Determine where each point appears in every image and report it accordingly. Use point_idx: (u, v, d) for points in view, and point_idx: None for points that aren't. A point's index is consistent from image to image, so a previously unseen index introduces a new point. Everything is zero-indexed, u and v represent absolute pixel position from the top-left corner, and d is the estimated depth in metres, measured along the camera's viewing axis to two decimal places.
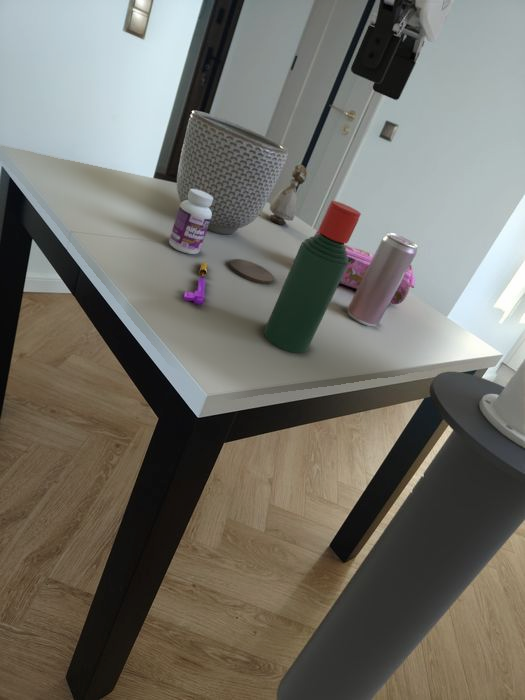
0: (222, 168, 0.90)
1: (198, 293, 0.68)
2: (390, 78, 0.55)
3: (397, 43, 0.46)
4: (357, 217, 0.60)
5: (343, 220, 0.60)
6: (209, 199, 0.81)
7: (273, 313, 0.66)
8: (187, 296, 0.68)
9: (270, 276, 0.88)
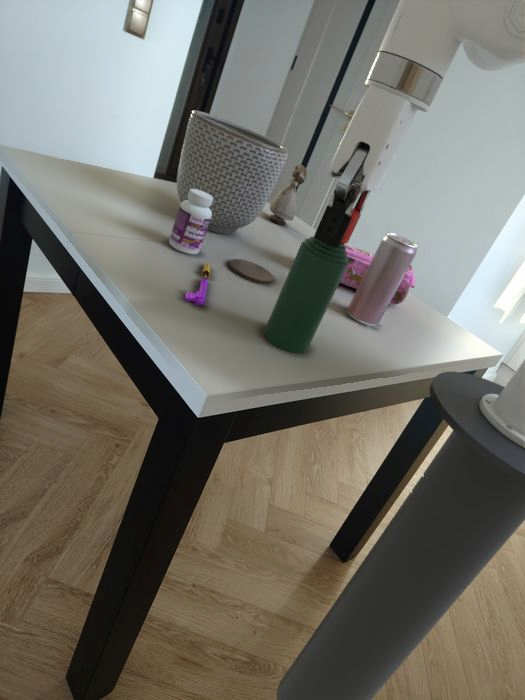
0: (222, 168, 0.90)
1: (199, 293, 0.69)
2: None
3: None
4: (357, 217, 0.60)
5: None
6: (209, 199, 0.81)
7: (273, 313, 0.66)
8: (188, 296, 0.68)
9: (270, 276, 0.88)
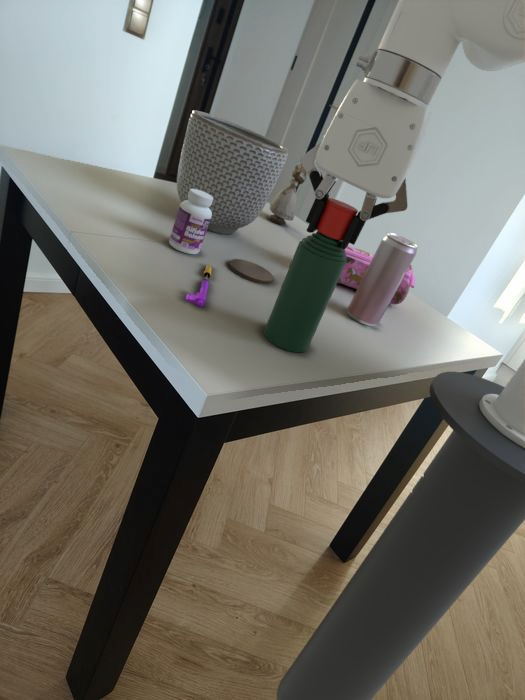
0: (222, 168, 0.90)
1: (200, 295, 0.69)
2: None
3: (318, 204, 0.60)
4: None
5: None
6: (209, 199, 0.81)
7: (272, 313, 0.66)
8: (188, 298, 0.68)
9: (270, 276, 0.88)
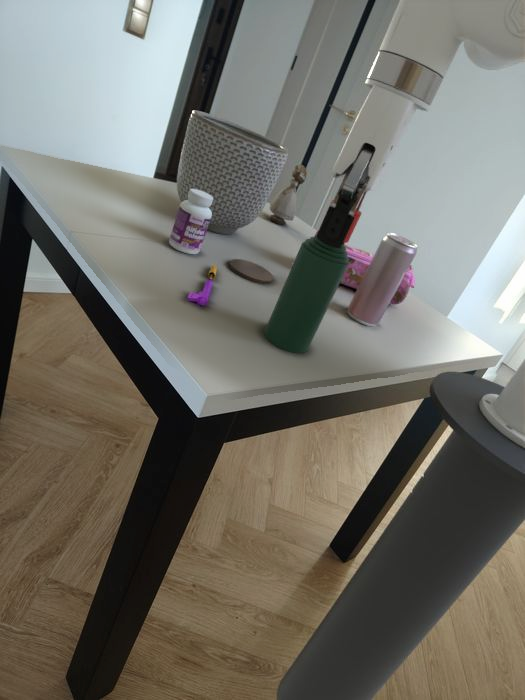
0: (222, 168, 0.90)
1: (202, 294, 0.69)
2: None
3: None
4: None
5: None
6: (209, 199, 0.81)
7: (273, 313, 0.66)
8: (191, 297, 0.68)
9: (270, 276, 0.88)
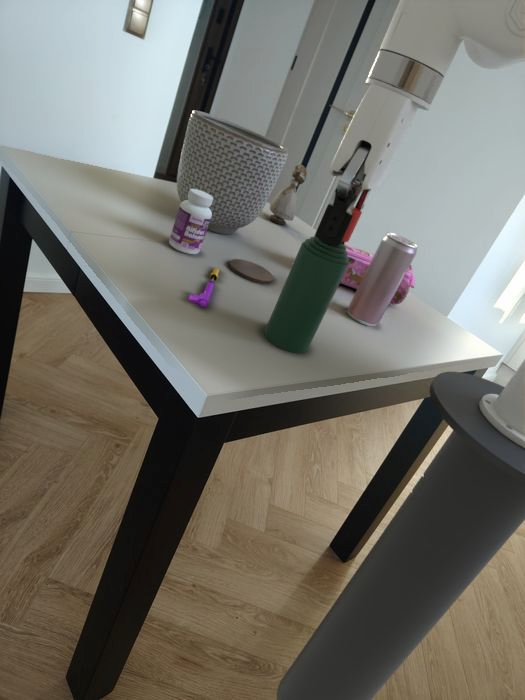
0: (222, 168, 0.90)
1: (203, 295, 0.69)
2: None
3: None
4: None
5: None
6: (209, 199, 0.81)
7: (273, 313, 0.66)
8: (191, 298, 0.68)
9: (270, 276, 0.88)
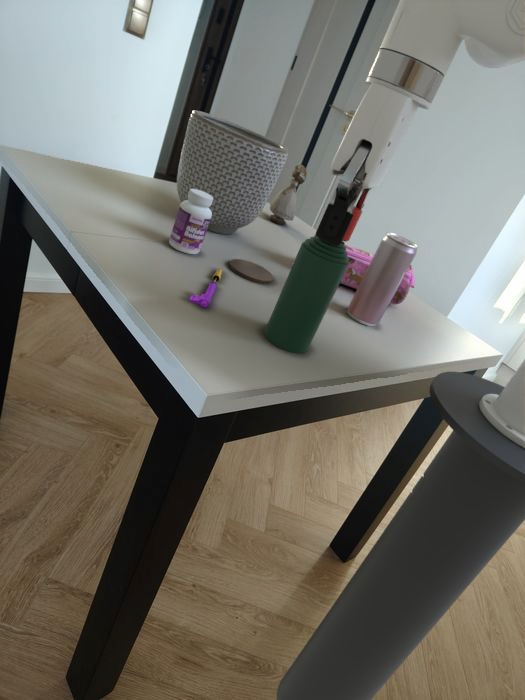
0: (222, 168, 0.90)
1: (204, 296, 0.69)
2: None
3: None
4: None
5: None
6: (209, 199, 0.81)
7: (273, 313, 0.66)
8: (192, 299, 0.68)
9: (270, 276, 0.88)
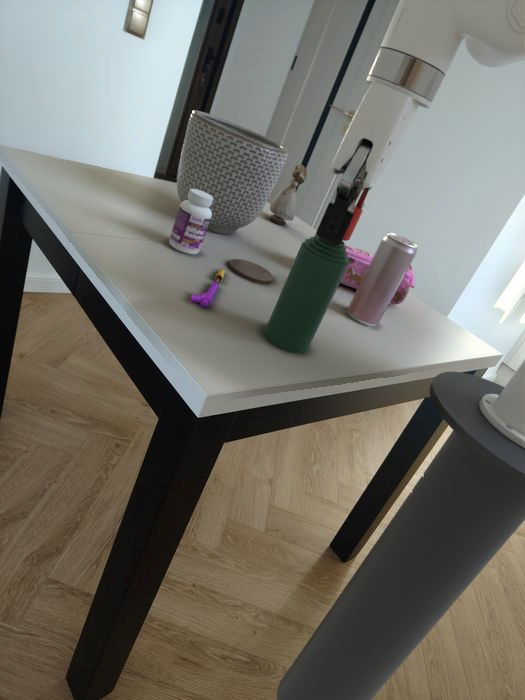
0: (222, 168, 0.90)
1: (205, 295, 0.69)
2: None
3: None
4: (360, 213, 0.61)
5: None
6: (209, 199, 0.81)
7: (273, 313, 0.66)
8: (194, 297, 0.68)
9: (270, 276, 0.88)
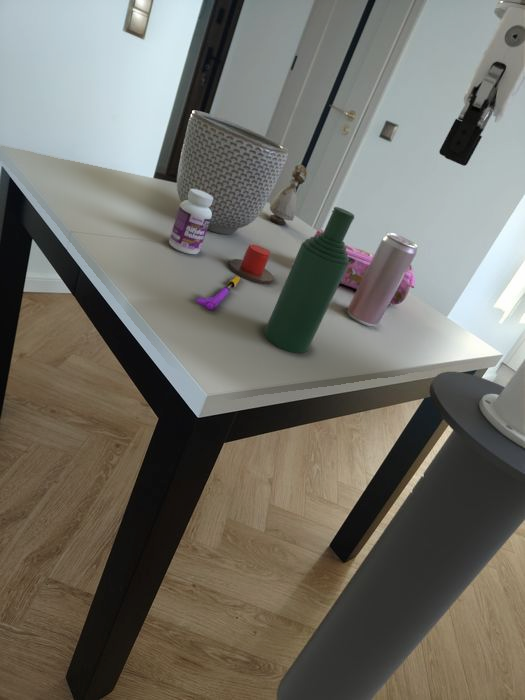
0: (222, 168, 0.90)
1: (211, 299, 0.69)
2: None
3: (479, 133, 0.58)
4: None
5: None
6: (209, 199, 0.81)
7: (273, 313, 0.66)
8: (200, 300, 0.69)
9: (270, 276, 0.88)
